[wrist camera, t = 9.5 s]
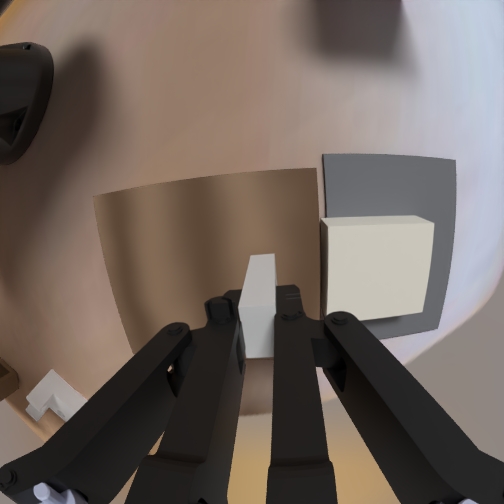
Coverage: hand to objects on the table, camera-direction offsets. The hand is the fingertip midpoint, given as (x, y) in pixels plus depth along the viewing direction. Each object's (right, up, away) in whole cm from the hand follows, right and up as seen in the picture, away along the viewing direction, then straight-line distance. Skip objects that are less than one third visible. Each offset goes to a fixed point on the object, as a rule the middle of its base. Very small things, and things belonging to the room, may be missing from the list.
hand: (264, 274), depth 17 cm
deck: (-4, 0, +4) cm, 6 cm away
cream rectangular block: (+8, +1, +3) cm, 9 cm away
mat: (+11, +1, +3) cm, 11 cm away
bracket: (-28, -23, +14) cm, 39 cm away
